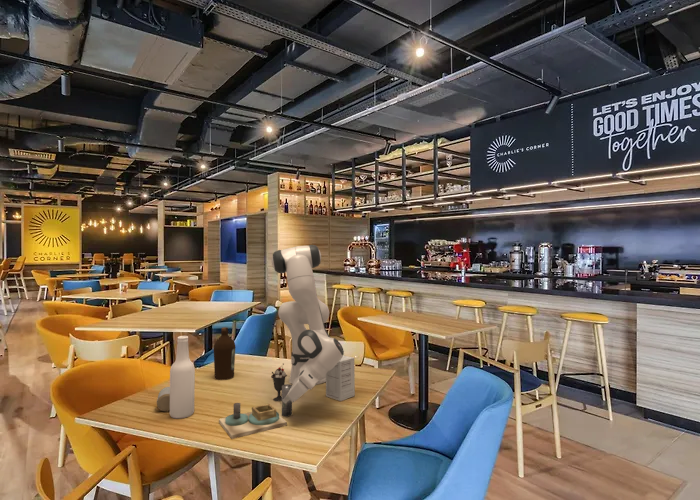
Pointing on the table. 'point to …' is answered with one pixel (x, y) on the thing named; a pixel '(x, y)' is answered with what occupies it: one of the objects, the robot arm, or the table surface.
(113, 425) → the table surface
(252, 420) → the gear board
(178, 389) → the alcohol
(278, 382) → the sundae
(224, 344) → the olive oil
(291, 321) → the robot arm
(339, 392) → the supplement box
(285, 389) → the axle
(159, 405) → the ceramic mug
